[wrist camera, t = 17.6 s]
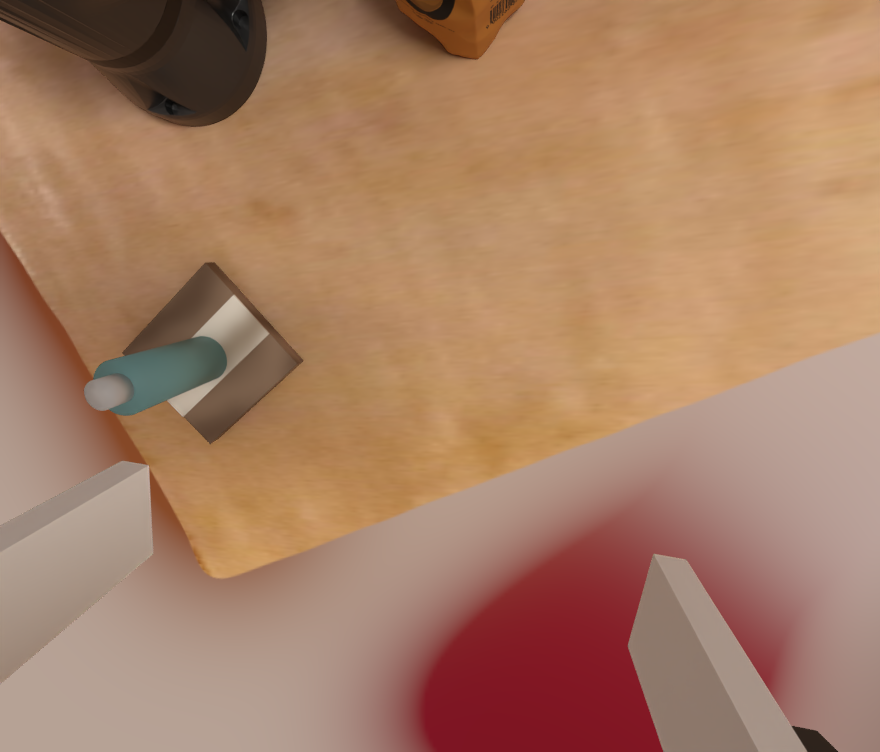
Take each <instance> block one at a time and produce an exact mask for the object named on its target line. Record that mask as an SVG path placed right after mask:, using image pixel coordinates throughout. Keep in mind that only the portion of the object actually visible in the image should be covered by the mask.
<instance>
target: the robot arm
mask: <svg viewBox="0 0 880 752" xmlns="http://www.w3.org/2000/svg"><path fill="white" fill-rule="evenodd" d="M0 20H1V21H4V22H6V23H8V24H10V25H12V26H14V27H17V28H19V29H21V30H23V31H25V32H27V33H30V34H32V35H34V36H36V37H38V38H41V39H43V40H45V41H47V42H49V43H51V44H54V45H56V46H58V47H60V48H62V49H65V50H67V51H69V52H71V53H73V54H76V55H78V56H80V57H82V58H84V59H86V60H88V61H89V62H90V63H91V64H93V65H94V66H95V67H96V68H97V69H98V70H99V71H100V72H101V73H102V74H103V75H104V76H105V77H106V78H107V79H108V80H109V81H110V82H111V83H112V84H113V85H114V86H115V87H116V88H117V89H118V90H119V91H120V92H121V93H122V94H124V95H125V96H126V97H127V98H128V99H129V100H130V101H132V102H133V103H134V104H136V105H137V106H139V107H140V108H142V109H144V110H145V111H147V112H149V113H151V114H153V115H156V116H158V117H160V118H163V119H165V120H168V121H170V122H173V123H176V124H180V125H186V126H203V125H209V124H212V123H216V122H218V121H221V120H223V119H225V118H226V117H228V116H230V115H231V114H232V113H234V112H235V111H236V110H237V109H238V108H240V107H241V106H242V104H243V103H244V102H245V101H246V100H247V99H248V97H249V96H250V94H251V93H252V91H253V89H254V88H255V86H256V84H257V82H258V79H259V77H260V74H261V71H262V68H263V64H264V59H265V53H266V41H267V33H266V21H265V15H264V10H263V6H262V2H261V0H0ZM150 500H151V499H150V479H149V465H144V464H138V463H133V462H127V461H121V462H119V463H117V464H115V465H113V466H111V467H109V468H108V469H106V470H104V471H102V472H100V473H98V474H96V475H95V476H93V477H91V478H89V479H87V480H85V481H83V482H81V483H79V484H77V485H76V486H74V487H72V488H70V489H68V490H66V491H64V492H62V493H61V494H59V495H57V496H55V497H53V498H51V499H49V500H48V501H46V502H44V503H42V504H40V505H38V506H36V507H35V508H32V509H31V510H29V511H27V512H25V513H23V514H22V515H19V516H18V517H15V518H14V519H12V520H10V521H8V522H6V523H4V524H3V525H0V684H1V683H2V682H3V681H5V680H6V679H7V678H8V677H9V676H10V675H12V674H13V673H14V672H15V671H16V670H17V669H19V668H20V667H21V666H22V665H23V664H24V663H26V662H27V661H28V660H29V659H30V658H31V657H33V656H34V655H35V654H36V653H37V652H39V651H40V650H41V649H42V648H43V647H44V646H46V645H47V644H48V643H49V642H50V641H51V640H53V639H54V638H55V637H56V636H57V635H59V634H60V633H61V632H62V631H63V630H64V629H66V628H67V627H68V626H69V625H70V624H72V622H74V621H75V620H76V619H77V618H79V617H80V616H81V615H82V614H83V613H84V612H86V611H87V610H88V609H89V608H90V607H91V606H93V605H94V604H95V603H96V602H97V601H99V600H100V599H101V598H102V597H103V596H104V595H106V594H107V593H108V592H109V591H110V590H111V589H112V588H114V587H115V586H116V585H117V584H119V583H120V582H121V581H122V580H123V579H124V578H125V577H127V576H128V575H129V574H130V573H131V572H133V571H134V570H135V569H136V568H137V567H139V566H140V565H141V564H142V563H143V562H144V561H146V560H147V559H148V558H149V557H150V556H151V555H153V539H152V520H151V501H150ZM628 648H629V651H630V654H631V657H632V660H633V663H634V666H635V669H636V672H637V674H638V677H639V680H640V683H641V686H642V689H643V692H644V695H645V698H646V701H647V704H648V707H649V710H650V713H651V716H652V719H653V722H654V725H655V728H656V731H657V734H658V737H659V740H660V742H661V746H662V749H663V751H664V752H838V751H837V750H836V749H835V748H834V747H833V746H832V745H831V744H830V743H829V742H828V741H827V740H826V739H825V738H824V737H823V736H822V735H821V734H819V733H818V731H815V730H810V729H805V728H800V727H795V726H791V725H790V723H789V722H788V720H787V719H786V717H785V716H784V714H783V712H782V711H781V709H780V707H779V706H778V704H777V703H776V701H775V699H774V698H773V696H772V695H771V693H770V692H769V690H768V689H767V687H766V685H765V684H764V682H763V680H762V679H761V677H760V676H759V674H758V673H757V671H756V669H755V668H754V666H753V665H752V663H751V661H750V660H749V658H748V657H747V655H746V654H745V652H744V650H743V649H742V647H741V646H740V644H739V642H738V641H737V639H736V638H735V636H734V635H733V633H732V631H731V630H730V628H729V627H728V625H727V623H726V622H725V620H724V619H723V617H722V616H721V614H720V613H719V611H718V609H717V608H716V606H715V605H714V603H713V601H712V600H711V598H710V597H709V595H708V594H707V592H706V590H705V589H704V587H703V586H702V584H701V582H700V581H699V579H698V578H697V576H696V574H695V573H694V571H693V570H692V568H691V566H690V565H689V563H688V562H687V560H685V559H680V558H674V557H668V556H662V555H657V554H653V557H652V561H651V564H650V568H649V572H648V575H647V579H646V582H645V586H644V590H643V593H642V597H641V600H640V604H639V607H638V611H637V615H636V618H635V622H634V626H633V629H632V633H631V636H630V640H629V643H628Z"/></svg>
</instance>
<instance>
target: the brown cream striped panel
mask: <svg viewBox="0 0 880 752" xmlns="http://www.w3.org/2000/svg"><path fill="white" fill-rule="evenodd" d="M199 336H206V337H210V338H212V339H214V340H216V341H217V342H218V343H219V344H220V345H221V346H222V348H223V349H224V351H225V354H226V357H227V366H226V369H225V372H224V373H223V374H222V375H221V376H220V377H219V378H217V379H215V380H212V381H210V382H208V383H205V384H203V385H201V386H198V387H196V388H194V389H191V390H189V391H187V392H185V393H182V394H180V395H178V396H175V397H173V398H171V399H168V400H167V401H168V402H169V403H170V404H171V405H172V406H173V407H174V408H175V409H176V411H177V412H178V413H179V414H180V415H181V416H182V417H185V418H186V419H187V420H188V422H189V423H190V424H191V425H192V426H193V427H194V428H195V429H196V430H197V431H198V432H199V433H200V434H201V435H202V436H203V437H204V438H205V439H206V440H207V441H208V442H209V443H210V444H211V443H213V442H214V441H216V440H217V439H219V438H220V437H221V436H222V435H223V434H224V433H225V432H226V431H227V430H228V429H229V428H231V427H232V426H233V425H234V424H235V423H236V422H237V421H238V420H239V419H240V418H241V417H243V416H244V415H245V414H246V413H247V412H248V411H249V410H250V409H251V408H252V407H253V406H255V405H256V404H257V403H258V402H259V401H260V400H261V399H262V398H263V397H264V396H265V395H267V394H268V393H269V392H270V391H271V390H272V389H273V388H274V387H275V386H276V385H277V384H279V383H280V382H281V381H282V380H283V379H284V378H285V377H286V376H287V375H288V374H290V373H291V372H292V371H293V370H294V369H295V368H296V367H297V366H298V365H299V364H300V363H302V362H303V360H302V359H301V357H300V356H299V355H298V354H297V353H296V352H295V351H294V350H293V349H292V348H291V346H290V345H289V344H288V343H287V342H286V341H285V340H284V339H283V338H282V337H281V335H280V334H279V333H278V332H277V331H276V330H275V329H274V328H273V327H272V325H271V324H270V323H269V322H268V321H267V320H266V319H265V318H264V317H263V316H262V314H261V313H260V312H259V311H258V310H257V309H256V308H255V307H254V306H253V305H252V303H251V302H250V301H249V300H248V299H247V298H246V297H245V296H244V295H243V293H242V292H241V291H240V290H239V289H238V288H237V287H236V286H235V285H234V284H233V282H232V281H231V280H230V279H229V278H228V277H227V276H226V275H225V274H224V273H223V271H222V270H221V269H220V268H219V267H218V266H217V265H216V264H215V263H205V264H204V265H203V266H202V267H201V268H200V269H199V270H198V271H197V272H196V273H195V275H194V276H193V277H192V278H191V279H190V280H189V281H188V282H187V283H186V284H185V285H184V286H183V288H182V289H181V290H180V291H179V292H178V293H177V294H176V295H175V296H174V297H173V298H172V299H171V301H170V302H169V303H168V304H167V305H166V306H165V307H164V308H163V309H162V310H161V311H160V312H159V314H158V315H157V316H156V317H155V318H154V319H153V320H152V321H151V322H150V323H149V324H148V325H147V327H146V328H145V329H144V330H143V331H142V332H141V333H140V334H139V335H138V336H137V337H136V338H135V340H134V341H133V342H132V343H131V344H130V345H129V346H128V347H127V348H126V349H125V350H124V351H123V354H124V355H125V356H127V355H131V354H134V353H138V352H142V351H146V350H149V349H153V348H157V347H161V346H165V345H168V344H172V343H176V342H180V341H183V340H187V339H191V338H195V337H199Z"/></svg>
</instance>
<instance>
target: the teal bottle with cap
mask: <svg viewBox="0 0 880 752" xmlns="http://www.w3.org/2000/svg"><path fill="white" fill-rule="evenodd" d="M226 366H227V357H226V354H225V351H224V349H223V348H222V346H221V345H220V344H219V343H218V342H217V341H216V340H214V339H212V338H210V337H206V336H199V337H195V338H191V339H187V340H183V341H180V342H176V343H172V344H168V345H165V346H161V347H157V348H153V349H149V350H146V351H142V352H138V353H134V354H131V355H127V356H123V357H119V358H115V359H112V360H108V361H105V362H103V363H102V364H100V365H99V366H98V368H97V369H96V371H95V374H94V378H93V380H92V381H90V382H88V383H87V384H86V386H85V389H84V395H85V398H86V400H87V402H88V403H89V404H90V405H91V406H92V407H93V408H95V409H97V410H102V411H104V410H108V409H109V410H110V411H112V412H114V413H116V414H119V415H124V416H128V415H133V414H136V413H138V412H141V411H143V410H145V409H148V408H150V407H152V406H154V405H157V404H159V403H161V402H164V401H166V400H168V399H171V398H173V397H175V396H178V395H180V394H182V393H185V392H187V391H189V390H191V389H194V388H196V387H198V386H201V385H203V384H205V383H208V382H210V381H212V380H215V379H217V378H219V377H220V376H221V375H222V374H223V373H224V372H225V369H226Z"/></svg>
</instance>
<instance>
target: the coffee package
mask: <svg viewBox="0 0 880 752" xmlns="http://www.w3.org/2000/svg"><path fill="white" fill-rule="evenodd" d="M524 1H525V0H396V3H397V6H398V8H399V9H400V10H401V12H403V13H404V14H406V15H407V16H408V17H409V18H411V19H412V20H413V21H414V22H415V23H416V24H418V25H419V26H420V27H422V28H424V29H425V30H427V31H428V32H429V33H431V34H432V35H433V36H435V37H436V38H437V39H438V40H439V41H440V42H441V43H442V45H443V46H444V47H445V49H446V50H447V52H449V53H451V54H455V55H459V56H463V57H466V58H472V59H478V58H479V57H481V56H482V55H483V54H484V52H485V51H486V50H487V48H488V47H489V45H490V44H491V43H492V42H493V40H494V39H495V37H496V35H497V33H498V31H499V29H500V28H501V26H502V25H503V23H504V22H505V20H506V19H507V18H508V17H509V16H510V15H511V14H513V13H514V12H515V11H516V10H517V9H519V8H520V7H521V5H522V4H523V3H524Z"/></svg>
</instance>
